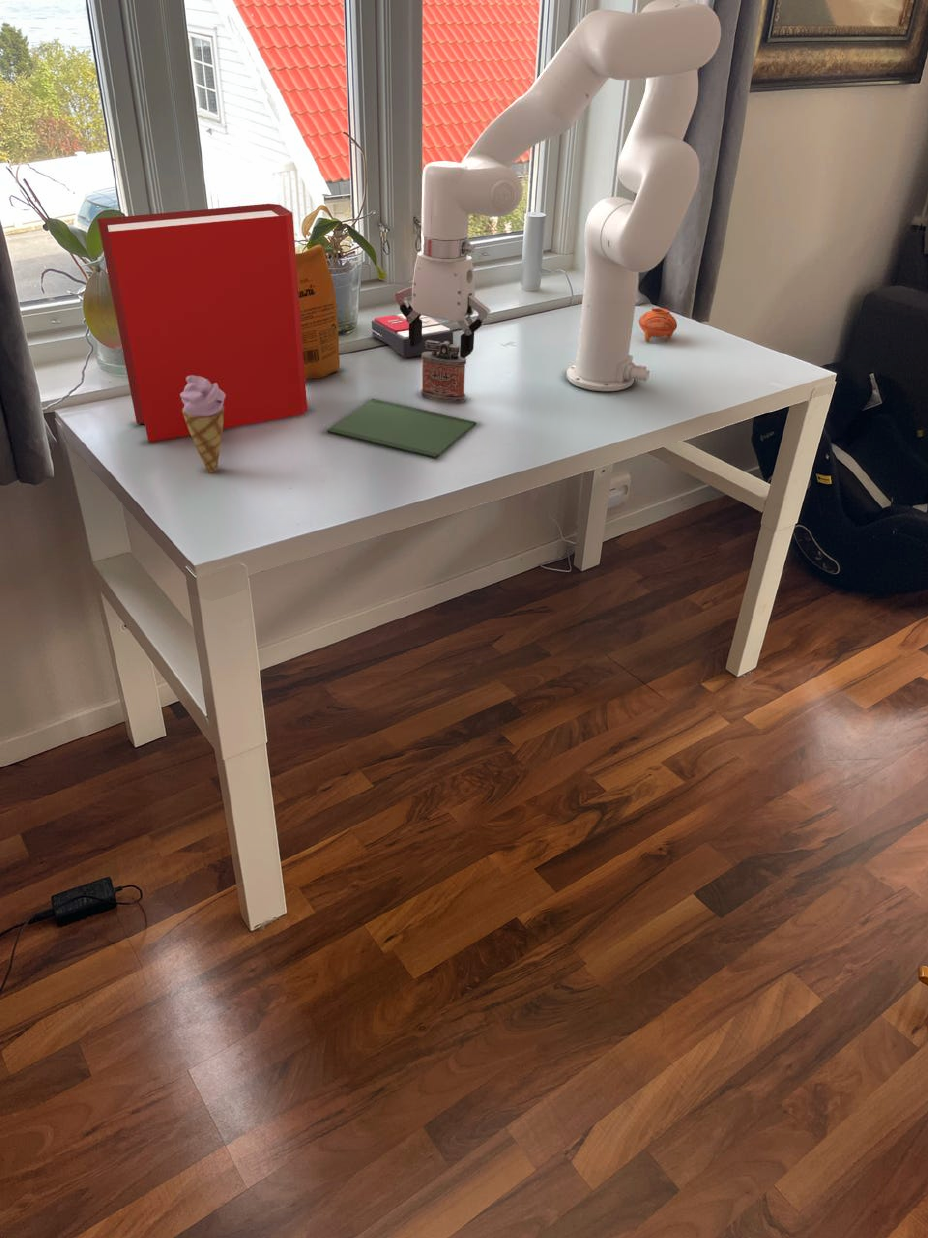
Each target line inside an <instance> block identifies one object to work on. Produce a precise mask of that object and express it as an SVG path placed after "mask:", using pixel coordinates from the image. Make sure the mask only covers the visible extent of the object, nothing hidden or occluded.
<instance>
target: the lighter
mask: <svg viewBox="0 0 928 1238" xmlns="http://www.w3.org/2000/svg"><path fill="white" fill-rule="evenodd" d="M425 348H426V349H432V352H423V353H422V354H421V355H420V356H421V357H420V358H421V363H422V364H421V367H422V368H421V369H422V370H421V373H422V375H421V376H422V378H421V379H422V380H421V382H422V383H421V384H422V385H421V390H420V393H421V397H422V398H425V399H430V400H434V401H439V402H446V403H457V404H459V403H463V402H464V401H465V400H466V395H465V371H466V370H465V369H466V364H467V359H466V358H467V357H465V358H462V357H461V356H460V345H458V344H453V345H452V344H451V343H450V342H449V341H445V342H444V343H439V342H438V341H431V340H427V341H426V342H425ZM437 350H438V351H439V352H437Z"/></svg>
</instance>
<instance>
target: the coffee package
mask: <svg viewBox="0 0 928 1238" xmlns="http://www.w3.org/2000/svg"><path fill="white" fill-rule="evenodd" d="M295 253H296V266H297V279H298V292H299V305H300V318H301V331H302V344H303V357H304V370H305V380H308V379H322V378H325V377H326V376H327V377H328V376H329V375H331V374H333V373H335V372H338V371H339V370H340V369H341V368H340V367H341V366H340V364H341V363H340V362H341V361H340V339H339V319H338V305H337V304H338V303H337V296H336V289H335V284H334V281H333V278H332V273H331V271H330V269H329V264H328V259H327V257H326V256H327V255H326V253H325V250H324V247H323V245H322V244H316V245H314V246H312V247H311V248H309V249H307V250H305V251H303V252H300V253H297V252H295Z"/></svg>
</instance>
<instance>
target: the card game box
mask: <svg viewBox="0 0 928 1238" xmlns="http://www.w3.org/2000/svg"><path fill="white" fill-rule="evenodd" d="M419 319H421V320H422V342H421V343H419V344H418V345H416V346H414V347H411V346H410V339H409V323H407V321H406V317H405V316H404V314H403V313H398V314H397V315H395V314H393V315H386V316H379V317H374V319H373V320H372V321H371V333H372V336H373V337H375V338H376V339H378V340H380V341H382V342H383V343H385V344H386V345H388V346H390V347H392V348H393V349H394V351H395V352H396V353H397V354H398V355H400V356H402V357H403V358H411V357H418V356H421V354H422V353H423V352H432V349H426V348H425V342H426V341H427V340H431V341H438V342H439V343H444V342H445V341H449V342H450V343H451V344H452V345H454V331H453V330H451V329H450V328H449V327H446V326H445V325H443V324H441V323H440V322H439V321H437V320H435V319H433V318H432V317H429V316H424V315H421V316H420V317H419ZM372 329H373V330H374V331H376V332H377V333H379V334H380V335H382V337H380V336H379V335H377V334H376V333H375V332H373V331H372ZM437 352H439V351H438V350H437Z"/></svg>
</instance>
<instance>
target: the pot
mask: <svg viewBox="0 0 928 1238" xmlns="http://www.w3.org/2000/svg"><path fill="white" fill-rule="evenodd" d="M638 325H639V327H640V329H641V331H643V332H644V340H645V342H646V343H649V342H650V340H651V337H653V338H663V337H667V338H666V341H669V340H671V338H672V336H673V334H674V333H675V330H677V328H678V323H677V320H676V319H675V317H674V316H673V315H672V314H671V313H670V311H669V310H668V309H666V308H662V307H657V308H653V307H652V308H651V310H649V311H647V312H645V313H643V314H642V315H641V316H640V317H639V319H638Z"/></svg>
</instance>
